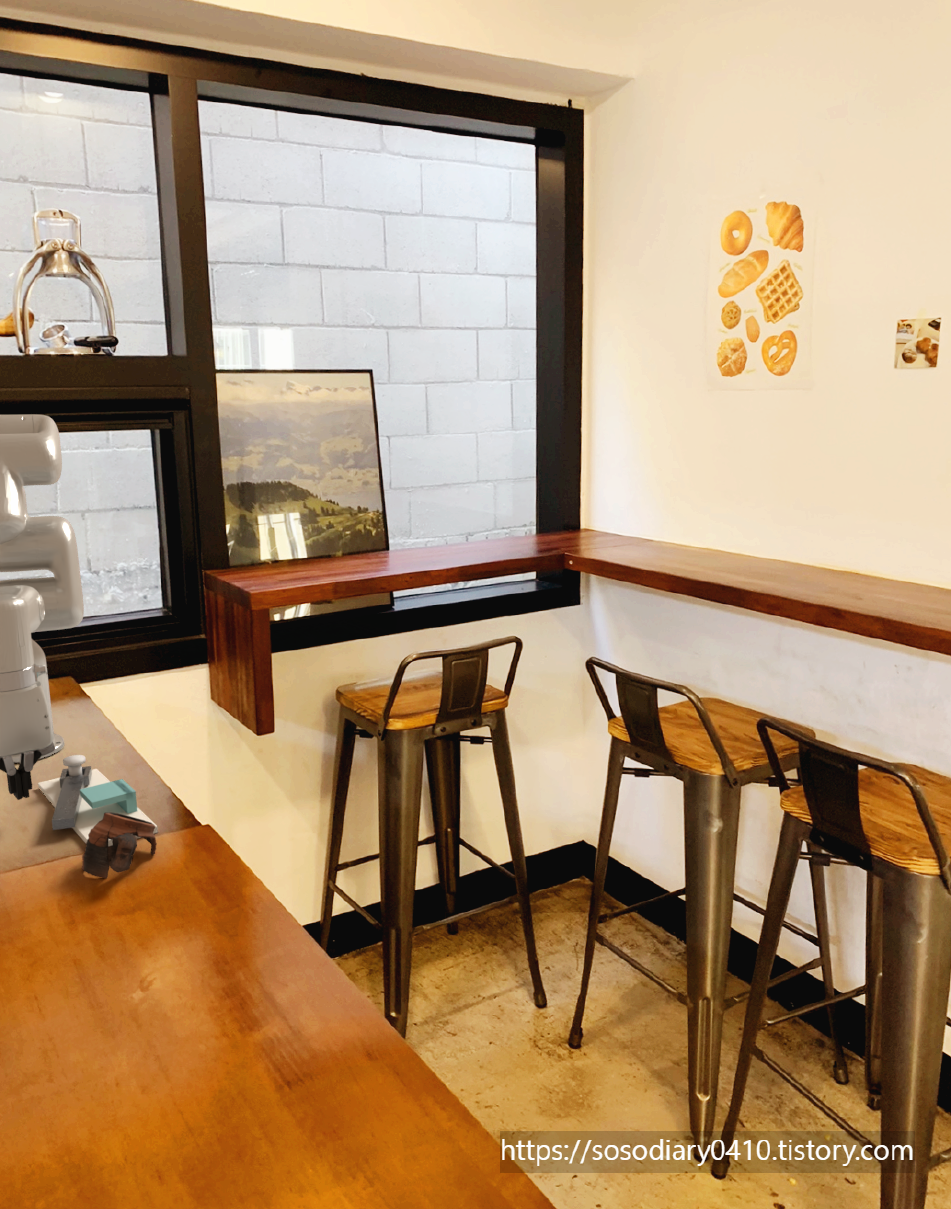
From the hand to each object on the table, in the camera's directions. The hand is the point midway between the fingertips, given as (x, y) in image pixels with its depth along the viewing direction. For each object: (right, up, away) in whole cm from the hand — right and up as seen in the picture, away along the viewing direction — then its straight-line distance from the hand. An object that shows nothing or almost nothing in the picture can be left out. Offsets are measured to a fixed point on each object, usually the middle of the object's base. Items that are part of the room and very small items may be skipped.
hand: (21, 795), depth 143 cm
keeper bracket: (+12, -3, +3) cm, 13 cm away
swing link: (+5, -2, +6) cm, 8 cm away
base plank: (+9, -3, +6) cm, 11 cm away
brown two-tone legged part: (+19, -8, -11) cm, 24 cm away
